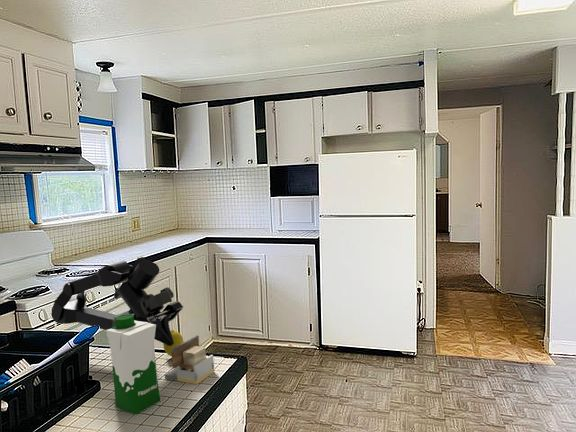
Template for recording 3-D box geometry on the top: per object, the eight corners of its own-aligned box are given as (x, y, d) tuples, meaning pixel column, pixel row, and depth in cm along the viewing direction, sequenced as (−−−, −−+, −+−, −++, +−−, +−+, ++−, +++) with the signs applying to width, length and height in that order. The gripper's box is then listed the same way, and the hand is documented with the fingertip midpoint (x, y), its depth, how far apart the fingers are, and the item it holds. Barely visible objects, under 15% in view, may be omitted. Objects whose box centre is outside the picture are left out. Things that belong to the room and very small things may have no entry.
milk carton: (140, 391, 108) (133, 310, 106) (167, 399, 103) (160, 314, 101) (109, 408, 100) (100, 321, 99) (136, 418, 96) (127, 326, 94)
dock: (165, 378, 115) (163, 361, 114) (184, 366, 121) (182, 350, 121) (196, 384, 110) (195, 366, 110) (214, 371, 117) (213, 355, 116)
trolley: (173, 378, 112) (170, 348, 111) (198, 362, 120) (196, 335, 120) (190, 381, 109) (187, 351, 109) (214, 365, 118) (212, 337, 117)
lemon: (181, 360, 125) (179, 333, 125) (162, 361, 125) (159, 334, 125) (186, 353, 131) (184, 326, 130) (167, 354, 131) (165, 327, 130)
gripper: (124, 289, 110) (162, 338, 106) (175, 272, 126) (210, 315, 123) (104, 317, 114) (140, 365, 110) (156, 297, 131) (189, 339, 127)
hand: (172, 344), depth 117 cm, fingers closed
